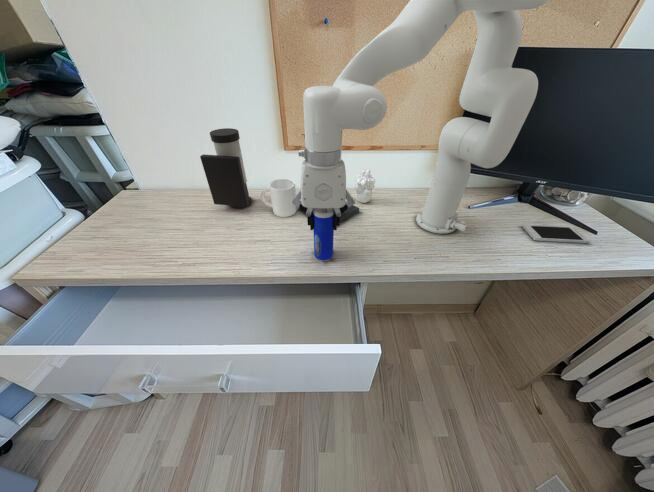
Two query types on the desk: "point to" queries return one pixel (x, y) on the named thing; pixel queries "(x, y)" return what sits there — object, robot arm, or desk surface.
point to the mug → (281, 197)
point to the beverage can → (323, 233)
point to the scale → (345, 213)
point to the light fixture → (226, 170)
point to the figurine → (364, 186)
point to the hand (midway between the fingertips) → (323, 226)
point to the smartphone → (555, 234)
